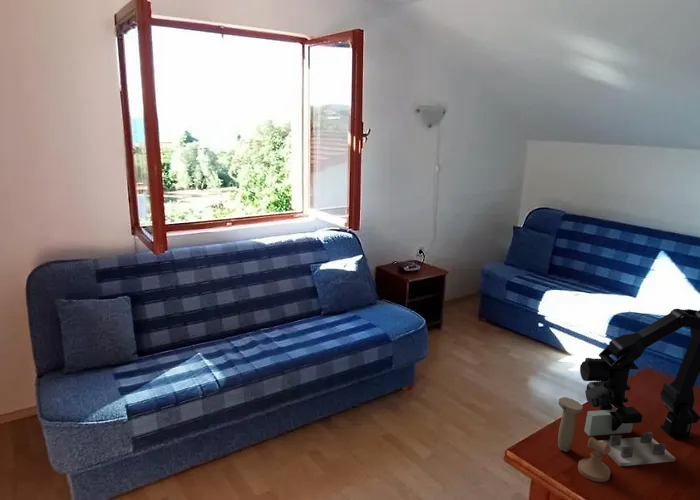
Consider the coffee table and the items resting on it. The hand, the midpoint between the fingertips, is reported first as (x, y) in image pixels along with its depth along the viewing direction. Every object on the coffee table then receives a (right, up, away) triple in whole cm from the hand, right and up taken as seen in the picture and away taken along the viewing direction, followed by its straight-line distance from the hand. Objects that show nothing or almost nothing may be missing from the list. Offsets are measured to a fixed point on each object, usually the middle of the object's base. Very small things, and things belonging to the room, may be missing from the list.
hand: (608, 425), depth 158 cm
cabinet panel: (+3, -5, -9) cm, 10 cm away
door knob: (-13, -7, -17) cm, 22 cm away
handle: (-17, -4, -8) cm, 19 cm away
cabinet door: (0, -2, +1) cm, 2 cm away
